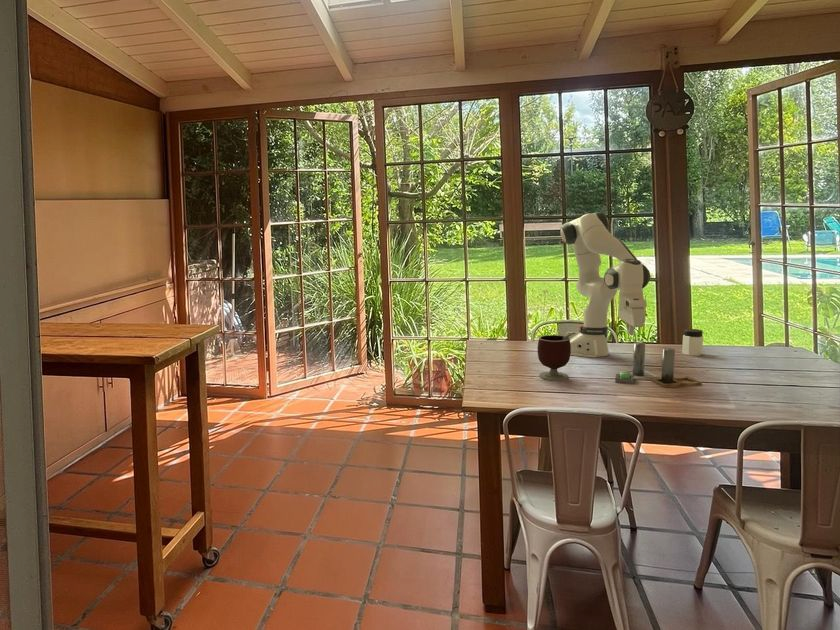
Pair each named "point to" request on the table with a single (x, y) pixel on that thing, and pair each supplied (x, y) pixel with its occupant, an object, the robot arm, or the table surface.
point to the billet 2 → (667, 365)
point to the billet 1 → (638, 359)
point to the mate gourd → (554, 355)
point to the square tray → (642, 377)
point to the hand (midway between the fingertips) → (630, 334)
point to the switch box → (624, 379)
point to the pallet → (677, 382)
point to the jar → (692, 342)
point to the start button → (624, 375)
